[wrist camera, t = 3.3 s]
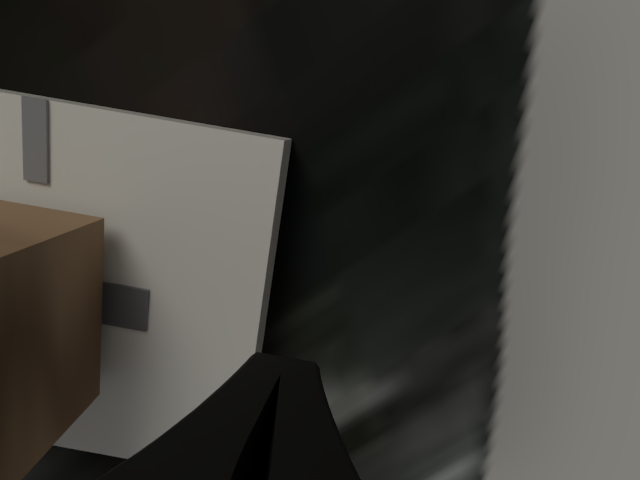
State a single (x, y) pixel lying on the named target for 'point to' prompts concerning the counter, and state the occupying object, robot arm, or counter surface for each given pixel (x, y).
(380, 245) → the counter surface
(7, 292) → the slider cap
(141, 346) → the fader console
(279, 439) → the robot arm
